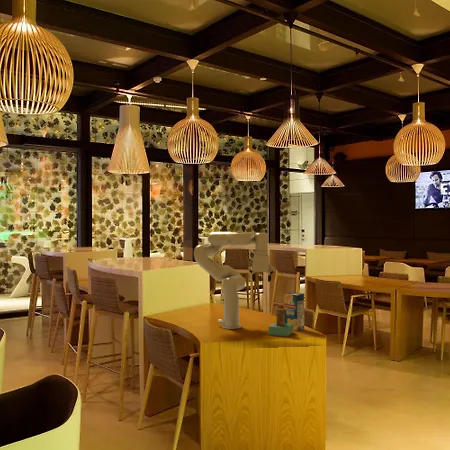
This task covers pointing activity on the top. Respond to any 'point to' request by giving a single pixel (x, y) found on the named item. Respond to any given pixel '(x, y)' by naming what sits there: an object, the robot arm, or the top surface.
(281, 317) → the long wooden beam
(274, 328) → the green square frame
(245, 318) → the top surface
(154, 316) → the top surface
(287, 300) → the beverage box
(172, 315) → the top surface
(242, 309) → the top surface
